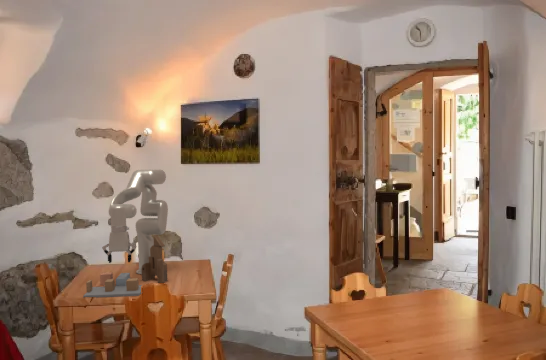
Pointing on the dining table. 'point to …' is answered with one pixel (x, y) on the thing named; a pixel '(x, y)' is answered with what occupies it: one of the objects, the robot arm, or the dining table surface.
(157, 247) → the wooden toy
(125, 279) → the blue-gray rectangular block
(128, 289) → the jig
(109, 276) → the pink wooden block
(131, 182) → the robot arm
